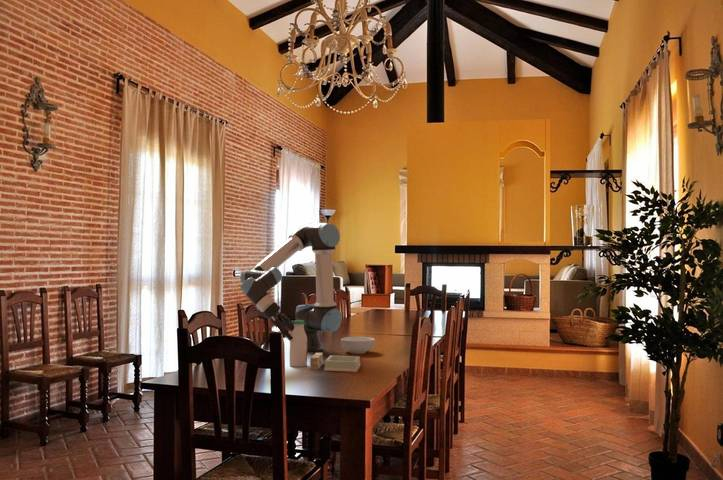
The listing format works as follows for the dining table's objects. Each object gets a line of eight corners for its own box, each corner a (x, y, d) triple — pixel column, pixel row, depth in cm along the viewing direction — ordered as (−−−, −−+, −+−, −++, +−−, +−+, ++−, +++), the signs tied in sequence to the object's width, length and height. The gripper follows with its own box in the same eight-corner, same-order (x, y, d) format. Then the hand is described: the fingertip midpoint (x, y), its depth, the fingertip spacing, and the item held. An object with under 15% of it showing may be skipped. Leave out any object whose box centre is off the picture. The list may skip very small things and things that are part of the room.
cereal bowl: (375, 350, 309) (376, 336, 309) (373, 356, 292) (373, 341, 292) (343, 349, 310) (343, 335, 310) (338, 354, 294) (338, 340, 294)
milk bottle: (304, 367, 260) (304, 321, 261) (287, 366, 262) (287, 320, 262) (309, 364, 268) (309, 319, 268) (292, 363, 269) (293, 319, 270)
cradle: (329, 364, 269) (329, 355, 269) (360, 365, 268) (360, 356, 268) (324, 370, 255) (324, 360, 255) (356, 371, 254) (356, 362, 254)
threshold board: (316, 363, 270) (316, 352, 270) (322, 363, 270) (323, 352, 270) (310, 369, 256) (310, 358, 256) (317, 370, 256) (317, 358, 256)
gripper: (269, 310, 279) (300, 343, 277) (254, 315, 254) (288, 352, 252) (281, 299, 279) (312, 332, 277) (266, 303, 254) (300, 340, 252)
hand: (300, 342), depth 264 cm, fingers open, 13 cm apart
